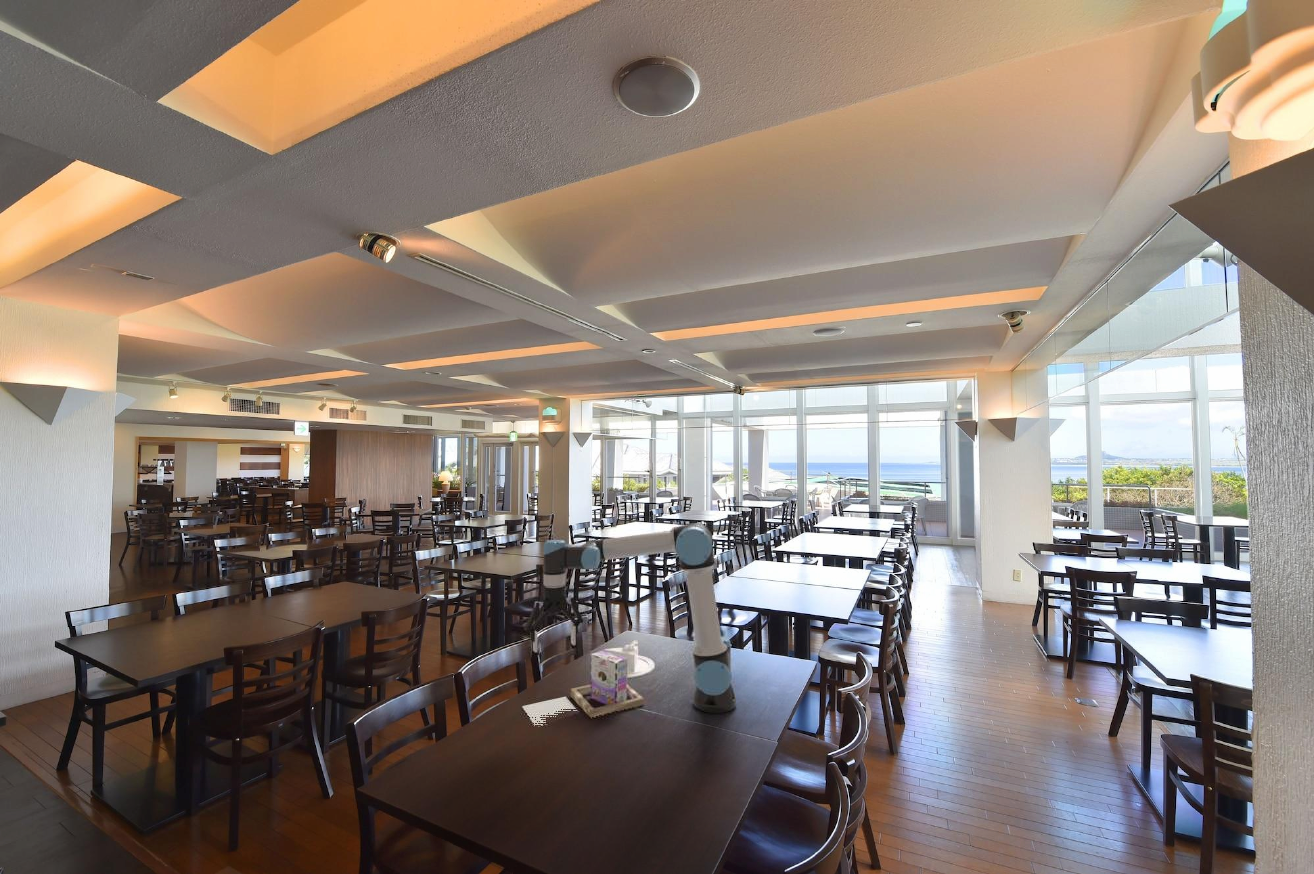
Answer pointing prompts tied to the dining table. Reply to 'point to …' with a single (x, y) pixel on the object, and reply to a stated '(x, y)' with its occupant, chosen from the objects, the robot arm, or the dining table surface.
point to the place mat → (547, 709)
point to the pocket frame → (593, 712)
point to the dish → (633, 660)
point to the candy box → (608, 678)
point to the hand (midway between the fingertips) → (554, 647)
